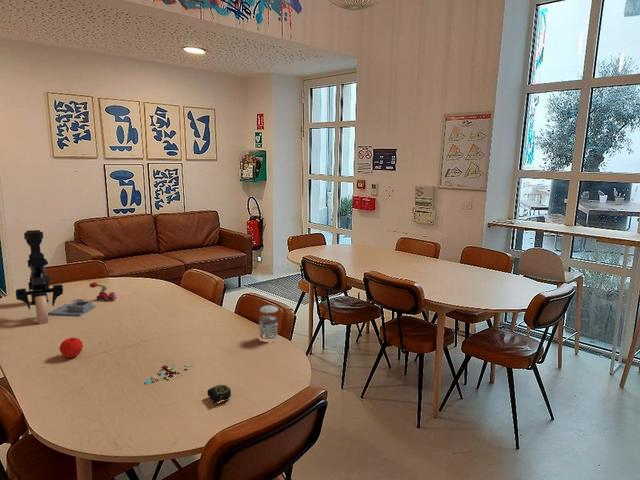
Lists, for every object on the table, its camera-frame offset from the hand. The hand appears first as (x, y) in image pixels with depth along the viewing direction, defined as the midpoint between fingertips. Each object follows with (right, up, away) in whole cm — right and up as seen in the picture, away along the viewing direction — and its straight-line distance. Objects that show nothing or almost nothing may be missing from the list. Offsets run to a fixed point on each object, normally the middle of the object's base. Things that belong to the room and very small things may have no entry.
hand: (41, 307), depth 201 cm
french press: (+107, -13, -9) cm, 108 cm away
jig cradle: (+4, -5, +18) cm, 19 cm away
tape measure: (+97, -22, -59) cm, 116 cm away
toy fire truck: (+11, -2, +37) cm, 38 cm away
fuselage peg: (0, -7, +2) cm, 8 cm away
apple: (+33, -14, -32) cm, 48 cm away
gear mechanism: (+75, -18, -42) cm, 88 cm away
